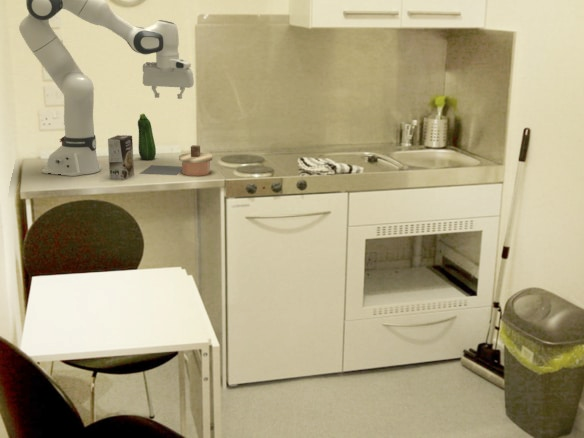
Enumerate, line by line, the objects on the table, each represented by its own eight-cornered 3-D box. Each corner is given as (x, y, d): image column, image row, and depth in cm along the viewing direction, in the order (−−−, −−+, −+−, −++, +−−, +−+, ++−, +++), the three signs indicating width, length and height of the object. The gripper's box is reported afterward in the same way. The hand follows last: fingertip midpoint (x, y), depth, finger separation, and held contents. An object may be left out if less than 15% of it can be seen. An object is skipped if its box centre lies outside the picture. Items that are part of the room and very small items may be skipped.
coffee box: (125, 181, 283) (123, 139, 279) (109, 180, 285) (106, 138, 280) (135, 176, 292) (132, 135, 287) (119, 175, 293) (117, 134, 288)
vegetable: (159, 160, 320) (157, 113, 314) (145, 162, 315) (143, 115, 309) (149, 157, 325) (147, 111, 319) (135, 160, 320) (133, 113, 314)
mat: (139, 174, 294) (139, 173, 294) (151, 166, 308) (151, 165, 308) (176, 176, 292) (176, 175, 292) (187, 168, 306) (186, 166, 306)
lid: (174, 162, 289) (174, 148, 288) (184, 155, 301) (183, 142, 300) (207, 163, 287) (207, 150, 286) (215, 156, 300) (215, 143, 298)
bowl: (180, 176, 292) (179, 161, 290) (187, 170, 302) (187, 156, 300) (205, 177, 291) (205, 162, 289) (211, 171, 300) (211, 157, 298)
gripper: (139, 62, 294) (140, 97, 298) (190, 64, 291) (190, 100, 295) (145, 61, 300) (146, 96, 304) (194, 63, 297) (194, 98, 301)
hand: (168, 98), depth 300 cm, fingers open, 8 cm apart
